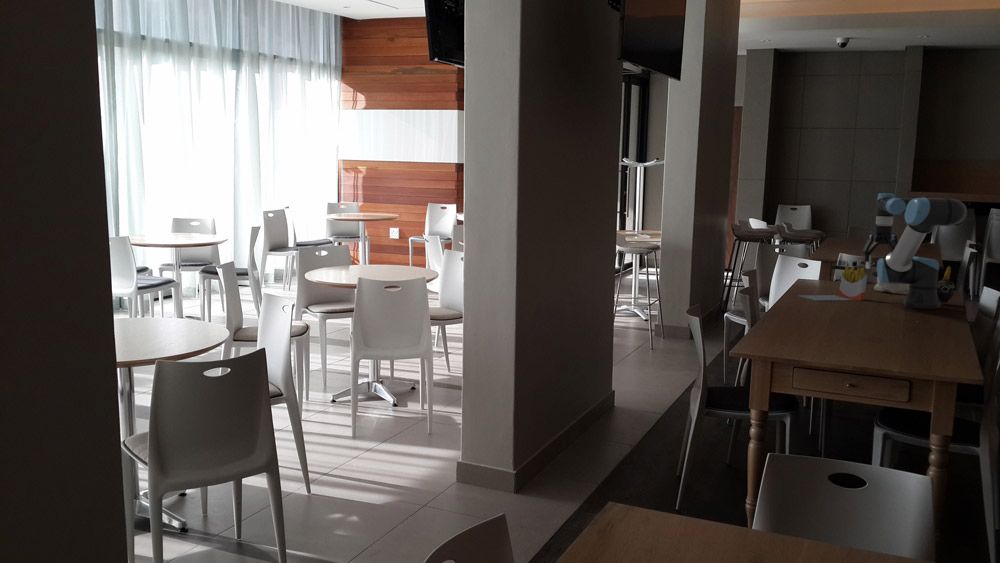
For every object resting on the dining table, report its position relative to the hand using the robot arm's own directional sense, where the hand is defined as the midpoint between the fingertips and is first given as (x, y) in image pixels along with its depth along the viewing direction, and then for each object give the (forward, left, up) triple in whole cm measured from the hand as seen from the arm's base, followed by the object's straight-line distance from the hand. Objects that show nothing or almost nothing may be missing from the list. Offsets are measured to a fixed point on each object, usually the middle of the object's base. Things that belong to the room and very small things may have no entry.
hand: (880, 268), depth 409 cm
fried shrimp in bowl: (-17, -23, -15) cm, 32 cm away
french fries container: (-2, +16, -17) cm, 24 cm away
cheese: (+19, -12, -16) cm, 28 cm away
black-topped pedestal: (+54, -17, -15) cm, 59 cm away
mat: (-1, +29, -15) cm, 33 cm away
